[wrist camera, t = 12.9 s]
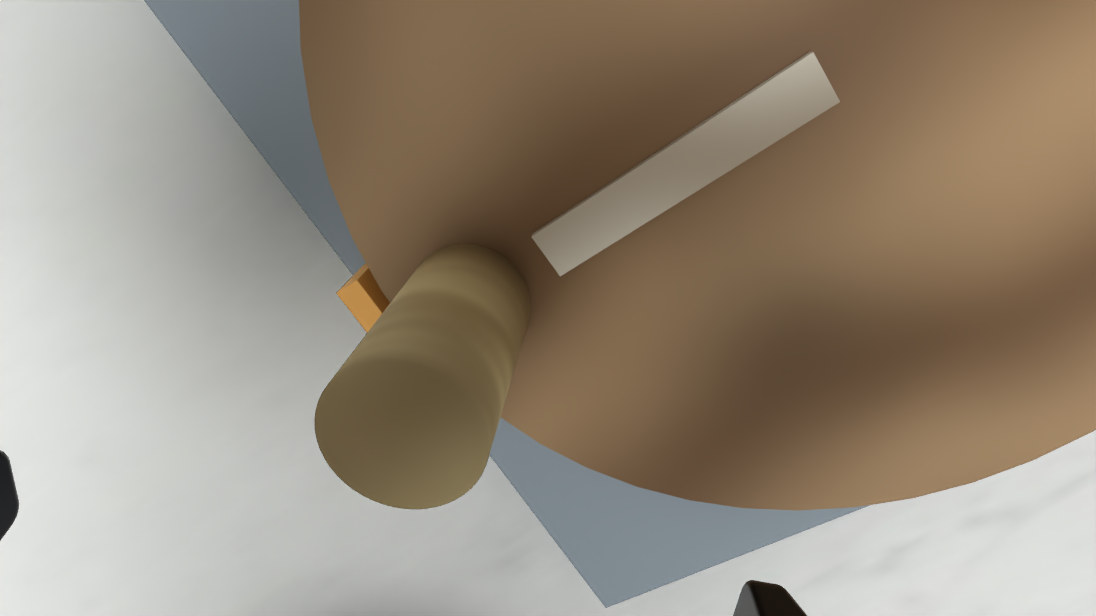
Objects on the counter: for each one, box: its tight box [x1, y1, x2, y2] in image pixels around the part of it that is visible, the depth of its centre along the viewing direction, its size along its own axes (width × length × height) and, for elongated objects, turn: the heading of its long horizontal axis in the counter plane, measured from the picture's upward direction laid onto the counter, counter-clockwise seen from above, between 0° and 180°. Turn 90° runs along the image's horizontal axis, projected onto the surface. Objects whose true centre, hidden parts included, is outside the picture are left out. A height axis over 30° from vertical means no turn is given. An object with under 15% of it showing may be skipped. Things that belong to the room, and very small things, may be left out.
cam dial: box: [299, 0, 1096, 511], centre depth 11 cm, size 19×19×7 cm
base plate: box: [144, 0, 869, 608], centre depth 14 cm, size 22×22×3 cm
